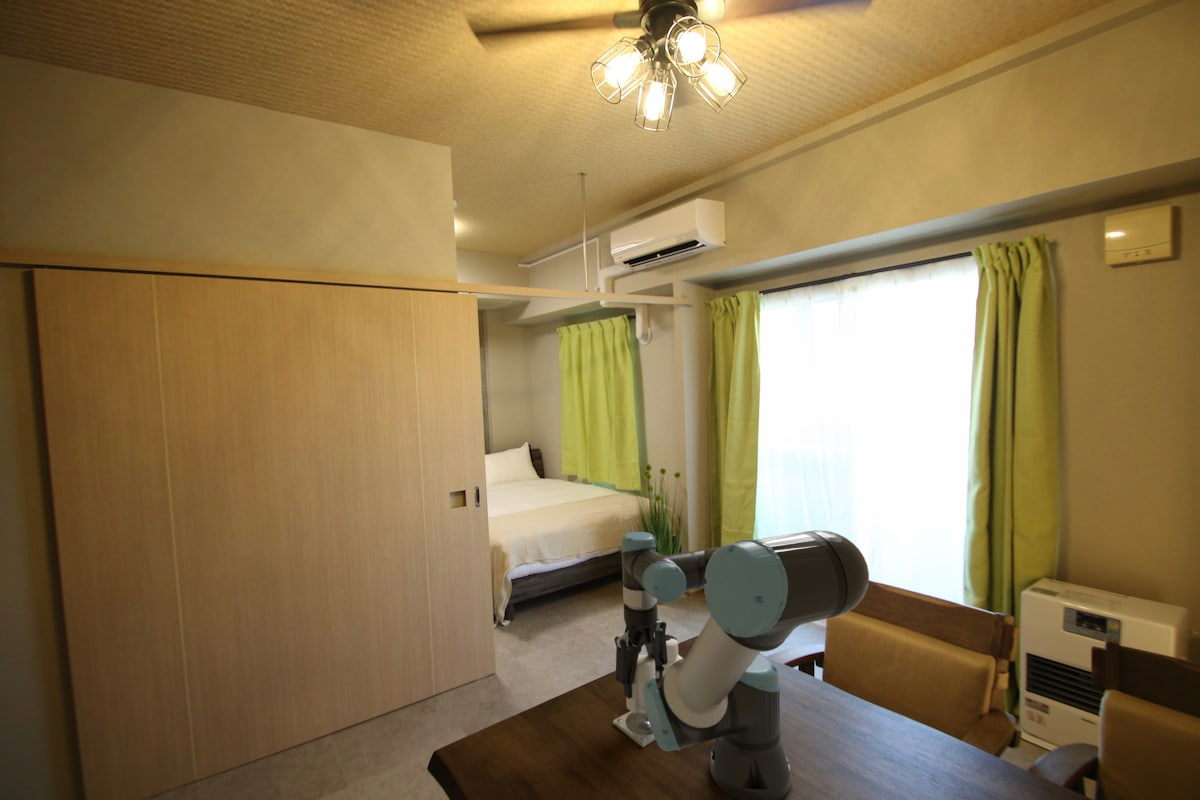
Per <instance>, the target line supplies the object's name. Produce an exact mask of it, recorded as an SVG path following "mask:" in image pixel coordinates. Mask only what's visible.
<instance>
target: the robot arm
mask: <svg viewBox="0 0 1200 800" xmlns="http://www.w3.org/2000/svg"><path fill="white" fill-rule="evenodd" d="M656 543H657V542H656V538H655V536H654V535H653V534H652V533H650V532H648V531H647V532H646V531H632V532H628V533H626V534H625V535H624V536H622V539H621V550H620V553H621V566H622V567H621V568H622V569H621V570H622V591H623V592H622V595H623V597H622V598H623V599H622V600H623V603H624V604H623V619H624V623H625V629H624V634H622V635H621V636H618V635H617V636H615V638H614V644H615V647H616V650H615V651H616V653H615V655H616V656H615V660H616V661H615V681H616V682H618V683H619V684H621V685H623V695H624V697H625V699H626V701H625V702H626V708H627V710H629V712H630V711H632V712H633V713H634V714H635V713H637V691H636V683H635V682H634V676H635V671H636V666H637V660H638V655H640V653H641V652H642V649H643V648H642V647H643V646H645V649H646V652H647V656H650V657H652V658H653V659H654V660H655V677H656V678H653V679H652V680H649V681H647V682H646V683H645V685H644V690H643V694H644V703H645V708H646V713H647V717H648V720H649V724H650V727H651V730H652V733H653V735H654V737H655V740H654V741H656V743H657V745H658V746H659V749H661V750H662V751H665V752H671V751H681V749H684V748H689V747H692V746H694V745H695V746H696V745H698V744H701V743H705V742H708V741H711V740H714V743H713V746H712V749H711V753H710V757H709V758H710V759H709V760H710V763H709V764H710V773H711V777H712V779H713V781H714V783H715V784H716V785H717V786H718V787H719V788H720V790H722V791H723V792H724V793H725V794H726V795H728V796H730V797H732V798H734V799H736V800H782V798H785V796H786V795H787V794H788V792H789V791H790V789H791V785H792V769H791V765H790V762H789V759H788V757H787V756H786V753H785V749H784V746H783V745H784V744H783V742H782V739H781V713H780V712H781V711H780V708H781V707H780V691H781V686H780V678H779V672H778V667H777V665H776V664H775V663H774V662H773V661H772V660H771V659H770V658H769V657H767V656H766V655H764V654H762V653H761V652H763V653H765V652H766V653H767V652H770V651H773V650H776V649H777V648H779V647H780V646H781V645H783V644H784V642H785V641H786V640H787V639H788V638H789V636H791V634H792V633H793V632H794V630H795V629H796V628H798V627H799V626H802V625H805V624H809V623H814V622H819V621H821V620H822V621H823V620H827V619H831V618H837V617H840V616H842V615H844V614H846V613H849V612H850V611H852V610H854V608H856V607H857V606H859V604H860V603H861V602H862V600H863V599H864V598H865V595H866V593H867V591H868V589H869V588H868V587H869V582H870V573H869V567H868V566H869V565H868V563H867V561H866V559H865V557H864V555H863V553H862V551H861V550H860V549H859V548H858V547H857V546H856V545H855V544H854V543H853V542H852V541H851V540H850V539H848V538H847V537H845V536H844V535H841V534H839V533H836V532H833V531H827V530H818V529H817V530H807V531H803V532H796V533H790V534H782V535H777V536H771V537H764V538H758V539H753V538H752V539H751V538H750V539H749V538H748V539H742V540H739V541H735V542H734V543H729V544H726V545H721V546H715V547H711V548H704V549H700V550H699V549H698V550H693V551H685V552H678V553H672V554H665V555H662V554H661V553H660V552H657V550H656V549H657V544H656ZM702 588H703V589H704V596H705V602H706V604H707V608H708V610H709V613H710V616H709V617H708V619H707V621H706V622H705V624H704V626H702V627H703V628H702V629H701V631H700V633H699V634H698V635H697V637H696V639H695V641H694V642H693V644H692V646H691V648H690V649H689V651H688V653H687V654H686V655H685V657H684V658H683V657H682V658H683V659H680V660H678V661H676V662H675V663H674V664H672V665H671V666H670V668H669V669H668V670H667V672H666V674H665V676H663V677H661V672H663V671H664V667H663V665H666V664H667V662H668V659H667V647H666V636H665V635H666V632H667V631H666V630H667V622H665V621H663V620H661V619H659V618H658V601H659V602H661V603H665V604H671V603H674V602H676V601H677V600H678V599H679V598H681V597H682V596H683V595H684V593H685V592H688V591H692V590H698V589H702Z"/></svg>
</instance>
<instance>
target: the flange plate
mask: <svg viewBox="0 0 1200 800" xmlns="http://www.w3.org/2000/svg"><path fill="white" fill-rule="evenodd" d="M612 722H613V725H614V726H615V727H617V729H619V730H620V731H622V732H623V733H624V734H626V735H627V736H628V737H629V738H630V739H632V740H633V741H634V742H635V743H636V744H638V745H639V746H640V747H642V748H644V747H647V745H649V744H651V743H652V742H655V741H656V740H655V737H654V735H653V733H652V730H651V727H650V724H649V720H648V717H647V714H641V713H635V714H634V713H633V712H632V711H630V710H629V711H628V712H626V713H624V714H622V715H620V716H619V717H616V718H615V719H613V720H612Z"/></svg>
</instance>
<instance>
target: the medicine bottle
mask: <svg viewBox="0 0 1200 800" xmlns="http://www.w3.org/2000/svg"><path fill="white" fill-rule="evenodd" d="M665 636H666V647H667V659H668V662H667V664H666V665H663V667H664V671H663V672H661V677H663V676H665V674H666V672H667V670H668V669H669V668H670V666H671V665H672V664H674V663H675V662H676V661H678V660H680V659H683V657H682V656H681V655H679V641H678V639H677V638H676V637H675V636H673V635H670V634H665Z"/></svg>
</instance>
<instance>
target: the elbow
mask: <svg viewBox="0 0 1200 800" xmlns="http://www.w3.org/2000/svg"><path fill="white" fill-rule="evenodd" d="M653 678H656V677H655V660H654V659H653V658H652V657H650V656H648V654H639V655H638V660H637V666H636V671H635V676H634V682H635V683H636V691H637V713H641V714H647V713H646V708H645V703H644V694H643V690H644V685H645V683H646V682H647V681H649V680H652V679H653Z"/></svg>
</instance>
